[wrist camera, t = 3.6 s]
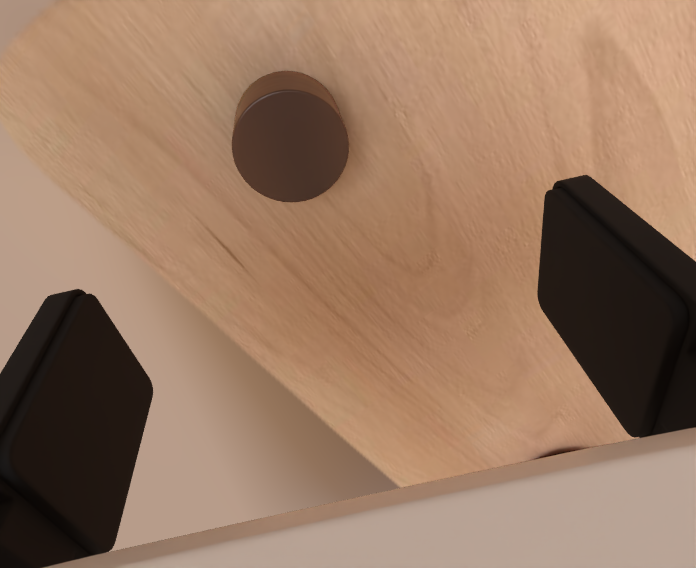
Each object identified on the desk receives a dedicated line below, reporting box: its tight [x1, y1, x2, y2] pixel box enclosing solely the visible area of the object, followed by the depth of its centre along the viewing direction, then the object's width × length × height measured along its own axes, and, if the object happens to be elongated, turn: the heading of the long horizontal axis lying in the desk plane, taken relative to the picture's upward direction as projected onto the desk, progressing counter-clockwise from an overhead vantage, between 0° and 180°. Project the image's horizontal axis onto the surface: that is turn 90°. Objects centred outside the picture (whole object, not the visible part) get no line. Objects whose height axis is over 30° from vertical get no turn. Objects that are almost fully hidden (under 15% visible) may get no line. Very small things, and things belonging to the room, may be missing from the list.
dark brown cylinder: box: [232, 71, 349, 202], centre depth 18 cm, size 4×4×2 cm
